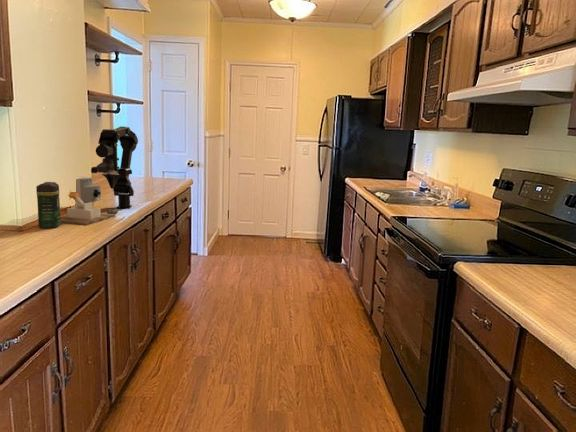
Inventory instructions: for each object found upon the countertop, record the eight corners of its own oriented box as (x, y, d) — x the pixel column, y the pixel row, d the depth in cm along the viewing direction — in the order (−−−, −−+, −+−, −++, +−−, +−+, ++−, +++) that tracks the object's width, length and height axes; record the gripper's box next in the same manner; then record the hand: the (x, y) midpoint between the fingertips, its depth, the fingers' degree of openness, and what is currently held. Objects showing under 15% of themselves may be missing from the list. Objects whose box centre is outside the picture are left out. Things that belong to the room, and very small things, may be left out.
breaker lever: (82, 205, 204) (70, 191, 196) (88, 205, 203) (76, 192, 195) (80, 208, 203) (68, 195, 195) (86, 209, 202) (74, 196, 194)
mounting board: (81, 213, 215) (81, 211, 215) (114, 216, 212) (114, 214, 211) (51, 221, 196) (51, 219, 196) (87, 225, 192) (87, 222, 192)
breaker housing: (77, 214, 208) (76, 200, 207) (100, 216, 206) (100, 202, 205) (67, 217, 202) (66, 202, 200) (90, 219, 199) (90, 204, 198)
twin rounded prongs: (96, 211, 222) (96, 207, 222) (118, 213, 219) (118, 209, 219) (87, 213, 215) (87, 209, 215) (109, 215, 213) (109, 211, 212)
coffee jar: (57, 228, 185) (54, 183, 181) (36, 229, 183) (33, 183, 179) (63, 223, 194) (60, 180, 190) (43, 223, 192) (40, 180, 188)
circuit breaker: (95, 209, 225) (93, 180, 222) (69, 207, 228) (68, 178, 225) (104, 207, 232) (102, 178, 230) (79, 205, 235) (77, 176, 232)
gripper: (82, 156, 208) (84, 189, 212) (118, 158, 205) (119, 192, 208) (97, 154, 219) (99, 186, 222) (132, 156, 215) (133, 188, 218)
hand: (112, 188), depth 217 cm, fingers closed
